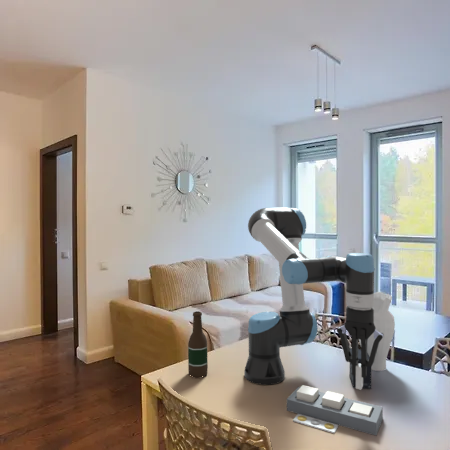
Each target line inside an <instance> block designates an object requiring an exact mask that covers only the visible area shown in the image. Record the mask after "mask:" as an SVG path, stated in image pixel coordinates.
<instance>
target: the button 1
mask: <svg viewBox="0 0 450 450" xmlns="http://www.w3.org/2000/svg"><path fill="white" fill-rule="evenodd" d="M299 387H300V388H299V390H298V391H297V399H300V400H304V401H308V402H312V403H314V402H315V400H316V399H317V398H318V396H319V392H320V391H319V388H316V387H312V386H308V385H304V384H302V385H301V386H299Z"/></svg>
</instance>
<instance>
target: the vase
mask: <svg viewBox="0 0 450 450" xmlns="http://www.w3.org/2000/svg"><path fill="white" fill-rule="evenodd" d="M392 300H393V297H392V295H391V294H389V293H384V292H383V291H382V292H381V291H376V292H374V306H373V307H372V308H373V309H374V325H375V328H376V330H377V331H378V332H380V333H383V334H384V336H383V338H382V339H381V341H380V342H379V346H378V349H377V353H376V356H375V360H374V363H373V365H372V366H371V371H374V372H383V371H385V370H386V369H387V358H388V354H389V352H390V347H391V343H392V341H393V338H394V334H395V325H396V324H395V317H394V315H393V314H392V313H391V311H389V309H390V306H391V303H392ZM374 341H375V339H374V333H373V334H372V335H371V336H370V337H369V338H368V341H367V353H368V354H369V356H370V354H371V350H372V347H373V343H374ZM358 343H359V345H360V346H361V340H360V339H358Z"/></svg>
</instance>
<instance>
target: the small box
mask: <svg viewBox="0 0 450 450" xmlns="http://www.w3.org/2000/svg"><path fill="white" fill-rule="evenodd" d="M350 352H351V356H352V348H350ZM369 357H370V356H369V354H368V353H367V360H369ZM358 363H360V364H361V348H360V349H359V348H358ZM349 379H350V382H351V384H352V388H355V389H356V376H353V374H352V364H351V363H350V362H349ZM362 389H367V390H370V389H371V390H372V370H371V367H370V366H367V375H366V377H365V378H363V387H362Z"/></svg>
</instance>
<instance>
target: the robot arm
mask: <svg viewBox="0 0 450 450" xmlns="http://www.w3.org/2000/svg"><path fill="white" fill-rule="evenodd" d="M247 228H248V229H247V230H248V233H249V234H250V236H251V237H252V239H254V240H255V241H256V242H258V243H261V245H263V247H264V248H266V250H267V251H268V252H269V253H270V254H271V256H273V258H274V259H276V260H277V262H278V267H279V268H278V269H279V277H280V288H281V289H280V290H281V300H282V306H281V308H280V309H279V313H278V312H275V311H262V312H258V313H255V314H253V315H251V317H250V318H249V319H248V328H247V332H248V357H247V360H246V364H245V367H244V378H245V380H247V381H248V382H250V383H253V384H257V385H264V386H266V385H267V386H269V385H270V386H271V385H275V384H280V383H282V382H283V381H284V380H285V378H286V376H285V375H286V374H285V373H286V372H285V368H284V364H283V362H282V358H281V356H280V352H281V351H280V350H281V349H280V348H283V347H285V348H286V347H293V346H303V345H306V344H307V345H308V344H310V343H312V342H314V340H315V338H316V337H317V334H318V327H319V326H318V321H317V319H316V316H315V315H314V313H312V312H311V311H310V307H308V306H307V305H306V302H305V294H304V284H313V283H329V282H340V283H344V284H345V286H346V287H345V291H346V292H345V296H346V298H345V300H346V301H345V304H346V306H345V322H344V324H343V325H340V326H338V327H337V328H336V332H337V334H338V336H339V338H340V342H341V345H342V350H343V355H344V359H345V362H347V363H349V364H350V363H351V364H352V374H353V376H356V388H355V389H356V390H360V391H361V390H362V389H363V388H362V387H363V378H365V377H366V375H367V366H370V367H371V366H372V365H373V363H374V360H375V356H376V353H377V349H378V346H379V342H380V341H381V339H382V338H383V336H384V334H383V333H380V332H378V331H377V330H376V328H375V325H374V309H373V308H372V307H373V306H374V293H375V291H374V290H375V289H374V288H375V270H376V269H375V262H374V261H375V260H374V256H373V255H372V254H371V253H365V252H364V253H363V252H349V253H347V254H346V257H343V256H339V255H326V256H325V257H307V256H306V255H305V254H304V253H303V252H302V251H300V246H299V244H300V242H301V241H302V239H303V238H302V236H304V235H305V233H306V229H307V221H306V217H305V215H304V214H303V212H302V210H300V209H299V208H295V207H265V208H260V209H257V210H256V211H255V212H254V213H253V214H252V215H251V216H250V218H249V220H248V224H247ZM347 332H348V334H349V336H350V337H351V347H350V346H349V345H350V344H349V341H348V340H349V339H348V337H347ZM373 333H374V339H375V341H374V343H373V347H372V350H371V354H370V357H369V360H367V341H368V338H369V337H370V336H371V335H372V334H373ZM359 339H360V340H361V345H360V349H361V364H360V363H358V349H359ZM350 349H352V356H351V352H350Z"/></svg>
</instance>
